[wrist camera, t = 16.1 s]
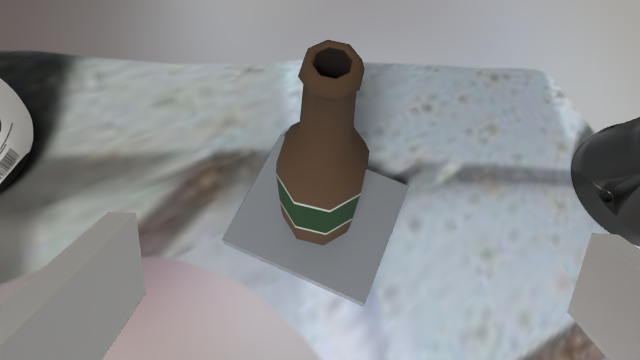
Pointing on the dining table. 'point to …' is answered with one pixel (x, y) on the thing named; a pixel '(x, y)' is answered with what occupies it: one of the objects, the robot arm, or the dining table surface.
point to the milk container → (13, 134)
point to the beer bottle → (324, 147)
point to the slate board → (313, 259)
